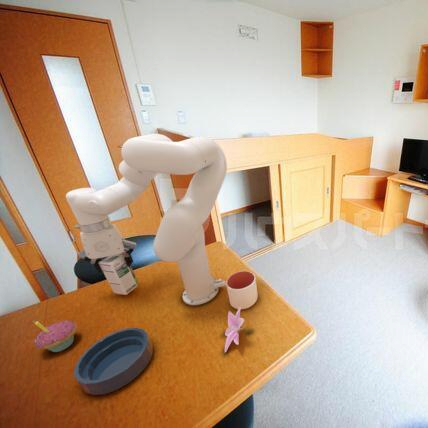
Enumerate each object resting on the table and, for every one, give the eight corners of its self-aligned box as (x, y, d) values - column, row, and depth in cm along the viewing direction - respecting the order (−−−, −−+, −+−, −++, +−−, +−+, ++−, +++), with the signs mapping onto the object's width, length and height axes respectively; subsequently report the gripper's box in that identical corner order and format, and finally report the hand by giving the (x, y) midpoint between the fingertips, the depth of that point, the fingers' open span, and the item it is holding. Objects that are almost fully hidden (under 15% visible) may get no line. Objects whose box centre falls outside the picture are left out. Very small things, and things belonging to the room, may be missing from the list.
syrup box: (126, 295, 88) (111, 263, 82) (113, 293, 89) (97, 261, 83) (139, 284, 93) (126, 254, 87) (127, 282, 94) (113, 252, 88)
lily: (234, 319, 83) (216, 308, 76) (264, 312, 80) (247, 300, 74) (226, 358, 74) (205, 349, 68) (259, 351, 71) (240, 341, 65)
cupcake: (47, 363, 67) (25, 334, 62) (38, 348, 71) (17, 319, 66) (86, 340, 73) (69, 312, 68) (76, 327, 77) (60, 300, 72)
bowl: (158, 333, 76) (153, 321, 74) (146, 381, 63) (140, 368, 61) (97, 350, 71) (89, 338, 68) (71, 407, 58) (60, 394, 55)
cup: (262, 293, 92) (260, 273, 88) (250, 313, 84) (246, 292, 79) (239, 289, 94) (235, 268, 90) (224, 308, 86) (220, 287, 81)
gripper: (56, 235, 73) (81, 280, 81) (124, 224, 79) (142, 267, 86) (68, 225, 79) (91, 267, 87) (131, 215, 85) (146, 256, 93)
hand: (116, 267), depth 87 cm, fingers closed on syrup box, 7 cm apart
